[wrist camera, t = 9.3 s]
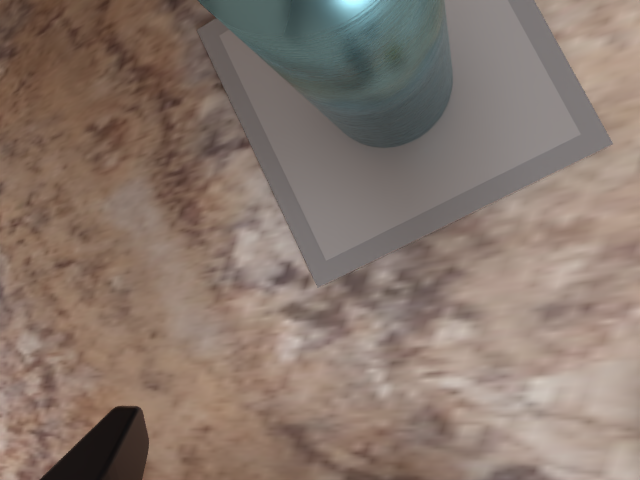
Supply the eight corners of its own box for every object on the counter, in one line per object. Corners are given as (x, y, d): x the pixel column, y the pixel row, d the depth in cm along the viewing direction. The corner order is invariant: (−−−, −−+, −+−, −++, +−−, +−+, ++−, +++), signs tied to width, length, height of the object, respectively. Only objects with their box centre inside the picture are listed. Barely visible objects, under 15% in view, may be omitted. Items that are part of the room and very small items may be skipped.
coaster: (608, 146, 21) (613, 143, 20) (321, 286, 23) (317, 287, 23) (459, -126, 22) (459, -138, 22) (202, 35, 25) (195, 29, 24)
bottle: (451, 146, 21) (420, 2, 9) (321, 148, 23) (135, 24, 10) (455, 13, 22) (429, -319, 9) (325, 22, 23) (144, -255, 10)
